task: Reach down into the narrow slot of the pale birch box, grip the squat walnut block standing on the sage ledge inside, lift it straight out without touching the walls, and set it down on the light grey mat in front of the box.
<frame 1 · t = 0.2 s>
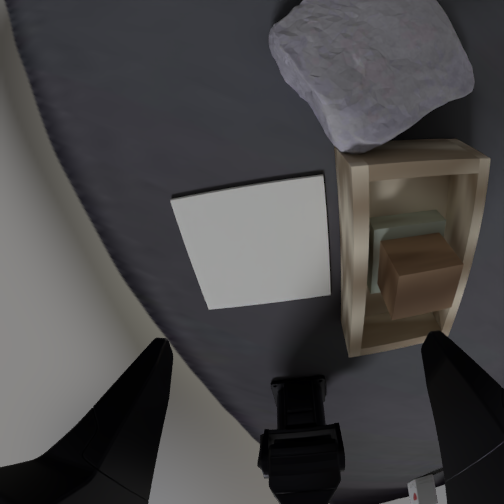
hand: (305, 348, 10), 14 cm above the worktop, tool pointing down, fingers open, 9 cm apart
slot box: (397, 241, 24), on the worktop
walnut block: (408, 258, 22), point 2 cm above the worktop, touching slot box
supplement box: (419, 478, 87), on the worktop
stone block: (365, 50, 16), on the worktop
grey mat: (258, 250, 24), on the worktop
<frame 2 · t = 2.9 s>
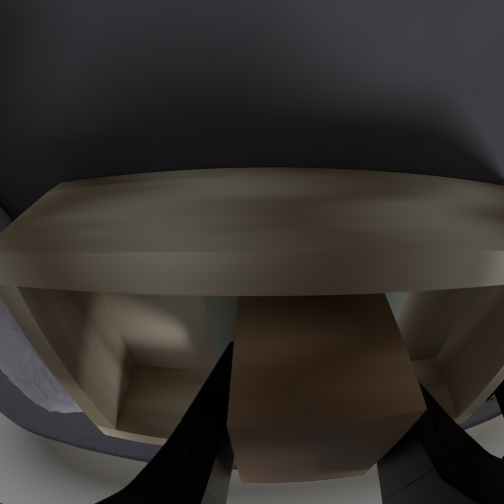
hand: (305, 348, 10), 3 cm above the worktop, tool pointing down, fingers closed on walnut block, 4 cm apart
slot box: (298, 294, 12), on the worktop
walnut block: (304, 345, 10), point 3 cm above the worktop, touching gripper, slot box
stone block: (18, 298, 14), on the worktop
when the fingers open (2 cm above the worktop, at t = 7.3 s): walnut block drops 2 cm, resting on grey mat.
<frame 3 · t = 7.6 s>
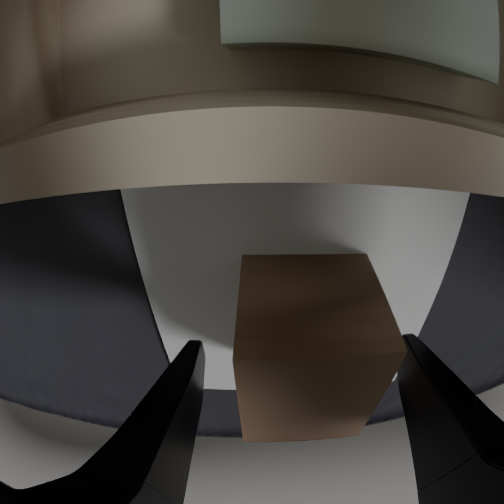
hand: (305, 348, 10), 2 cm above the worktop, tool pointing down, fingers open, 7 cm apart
walnut block: (300, 311, 11), resting on grey mat
grey mat: (299, 306, 11), on the worktop
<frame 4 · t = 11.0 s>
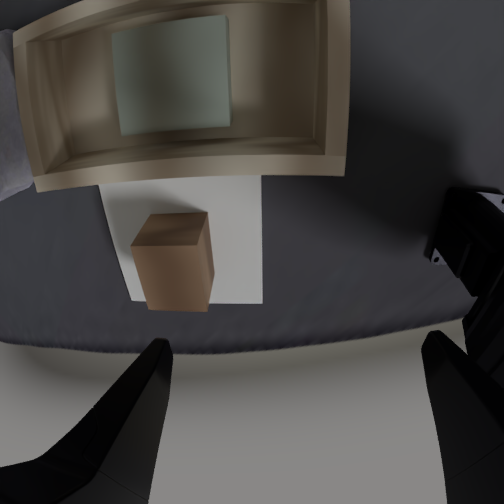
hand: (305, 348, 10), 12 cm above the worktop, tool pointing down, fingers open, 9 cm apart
slot box: (180, 74, 15), on the worktop
walnut block: (183, 244, 22), resting on grey mat
stone block: (9, 118, 16), on the worktop
grey mat: (184, 242, 22), on the worktop
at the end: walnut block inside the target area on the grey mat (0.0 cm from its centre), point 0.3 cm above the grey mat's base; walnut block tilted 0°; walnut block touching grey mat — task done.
